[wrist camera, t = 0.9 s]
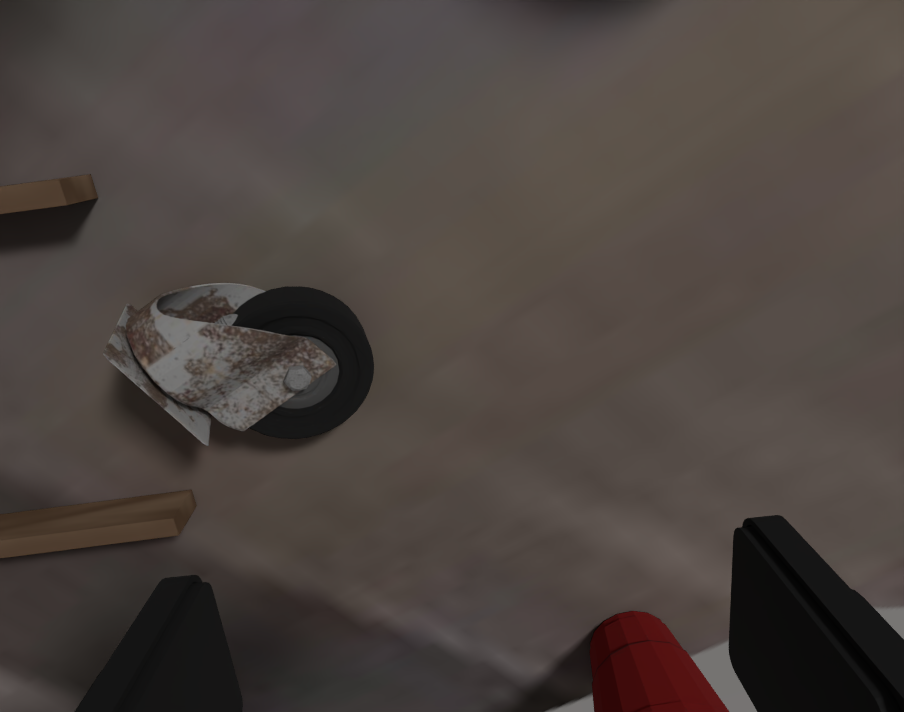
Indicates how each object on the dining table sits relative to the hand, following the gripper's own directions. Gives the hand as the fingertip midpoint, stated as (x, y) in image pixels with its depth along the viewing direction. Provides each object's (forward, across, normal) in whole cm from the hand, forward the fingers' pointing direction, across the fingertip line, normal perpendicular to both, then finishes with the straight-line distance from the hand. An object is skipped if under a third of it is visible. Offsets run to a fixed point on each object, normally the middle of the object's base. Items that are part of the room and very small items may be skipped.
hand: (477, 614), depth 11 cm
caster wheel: (+26, +10, +1) cm, 28 cm away
